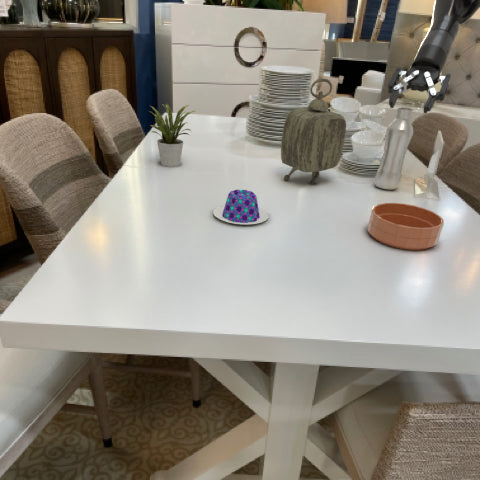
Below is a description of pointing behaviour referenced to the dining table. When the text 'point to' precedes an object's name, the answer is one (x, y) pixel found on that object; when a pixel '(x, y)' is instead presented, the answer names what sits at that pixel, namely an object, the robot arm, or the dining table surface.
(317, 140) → the tabletop clock
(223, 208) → the pudding
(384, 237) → the pan
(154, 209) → the dining table surface
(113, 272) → the dining table surface
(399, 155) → the plastic bottle
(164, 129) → the house plant
